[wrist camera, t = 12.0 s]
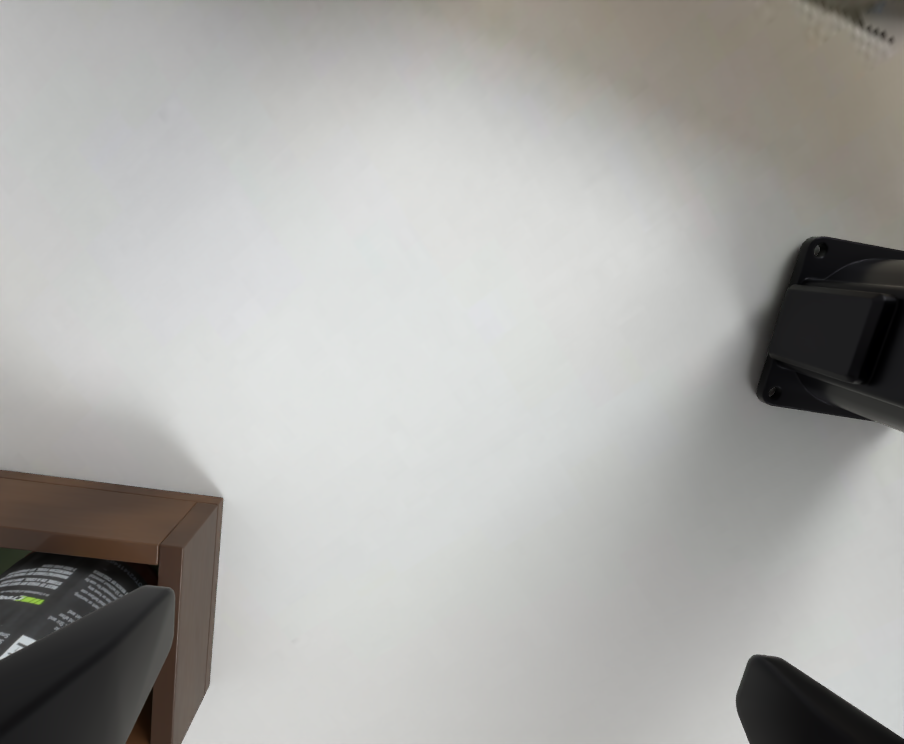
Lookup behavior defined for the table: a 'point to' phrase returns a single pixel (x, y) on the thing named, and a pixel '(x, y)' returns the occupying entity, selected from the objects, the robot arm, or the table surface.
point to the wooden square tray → (138, 541)
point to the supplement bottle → (60, 593)
